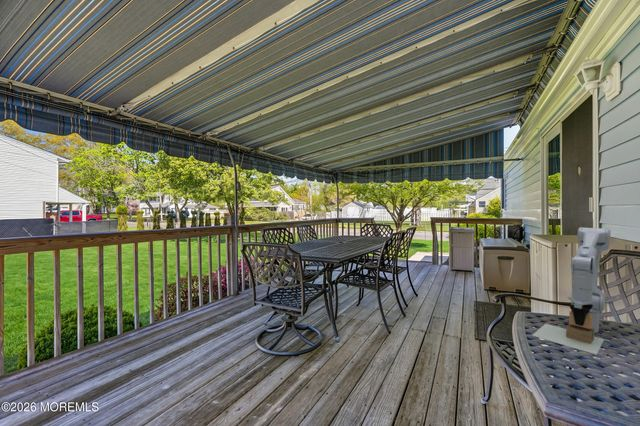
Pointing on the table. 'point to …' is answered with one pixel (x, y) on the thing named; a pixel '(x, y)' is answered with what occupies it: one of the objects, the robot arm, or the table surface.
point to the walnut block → (580, 333)
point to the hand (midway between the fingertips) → (580, 323)
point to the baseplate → (567, 339)
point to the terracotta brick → (586, 324)
